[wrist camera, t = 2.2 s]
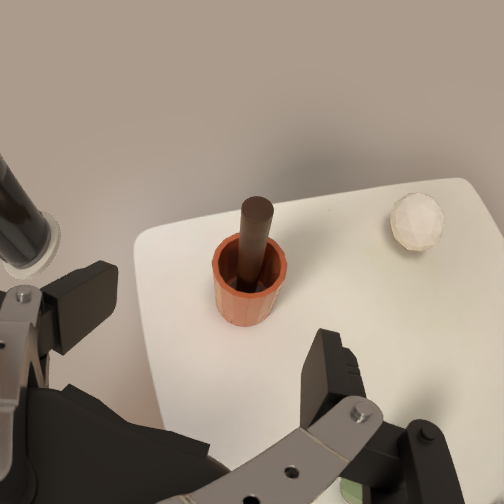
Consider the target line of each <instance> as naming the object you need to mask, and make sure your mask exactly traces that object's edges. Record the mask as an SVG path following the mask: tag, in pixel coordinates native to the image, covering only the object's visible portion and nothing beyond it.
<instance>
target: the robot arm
mask: <svg viewBox="0 0 504 504" xmlns="http://www.w3.org/2000/svg"><path fill="white" fill-rule="evenodd" d="M50 239H51V228H50V225H49V223H48V222H47V220H46V219H45V218H44V217H43V216H42V213H41V212H40V211H39V210H38V209H37V208H36V206H35V205H34V204H33V202H32V201H31V199H30V198H29V197H28V195H27V194H26V192H25V191H24V190H23V188H22V187H21V185H20V184H19V182H18V181H17V179H16V178H15V176H14V175H13V173H12V172H11V170H10V168H9V167H8V165H7V164H6V162H5V161H4V160H3V157H2V156H1V154H0V258H1V259H2V260H3V261H4V262H5V263H9V264H10V265H11V266H13V267H14V268H16V269H21V270H22V269H27V268H29V267H31V266H33V265H34V264H36V263H37V262H38V261H39V260H40V259H41V258H42V256H43V255H44V253H45V252H46V250H47V248H48V246H49V243H50ZM117 283H118V268H117V266H115V265H112V264H110V263H107V262H104V261H101V260H100V261H97V262H95V263H93V264H91V265H90V266H88V267H86V268H82V269H77V270H75V271H72V272H70V273H69V274H67V275H65V276H63V277H61V278H60V279H57V280H55V281H53V282H51V283H50V284H48V285H46V286H44V287H42V288H41V289H38V288H36V287H34V286H31V285H19V286H15V287H13V288H11V289H10V290H8V292H3V291H0V504H312V503H313V502H314V501H315V500H316V499H317V498H318V497H319V496H320V495H321V494H322V493H323V492H324V491H325V490H326V489H327V488H328V487H329V486H330V485H331V484H332V483H333V482H334V481H335V480H336V479H337V478H338V477H342V478H344V479H347V480H350V481H353V482H356V483H359V484H362V504H465V502H464V498H463V495H462V491H461V487H460V484H459V480H458V477H457V474H456V470H455V467H454V464H453V461H452V458H451V455H450V452H449V449H448V446H447V443H446V440H445V437H444V435H443V433H442V431H441V430H440V429H439V428H438V427H437V426H436V425H435V424H433V423H431V422H429V421H427V420H422V419H417V420H413V421H412V422H410V423H409V425H408V426H407V427H406V428H405V429H404V428H401V427H398V426H395V425H392V424H389V423H387V422H385V421H383V414H382V411H381V410H380V408H379V407H378V406H377V405H376V404H375V403H373V402H372V401H370V400H368V399H367V398H366V393H365V389H364V386H363V382H362V378H361V376H360V370H359V368H358V367H359V366H358V363H357V359H356V357H355V355H354V354H353V353H352V352H351V351H350V349H349V348H344V347H342V342H341V338H340V334H339V333H338V332H333V331H329V330H325V329H321V328H320V329H319V330H318V331H317V333H316V336H315V338H314V341H313V343H312V346H311V348H310V350H309V353H308V355H307V357H306V360H305V362H304V365H303V369H302V373H301V404H300V427H299V428H297V429H295V430H294V431H292V432H291V433H290V434H288V435H287V436H286V437H284V438H283V439H281V440H280V441H278V442H277V443H275V444H274V445H273V446H271V447H270V448H268V449H267V450H265V451H264V452H262V453H260V454H259V455H257V456H256V457H254V458H253V459H251V460H249V461H248V462H246V463H245V464H243V465H241V466H240V467H238V468H236V469H235V470H233V471H231V470H229V469H228V468H227V467H226V466H224V465H223V464H222V463H220V462H219V461H217V460H216V459H214V458H212V457H210V456H209V455H207V454H208V451H209V447H210V444H207V443H204V442H201V441H198V440H195V439H192V438H189V437H186V436H183V435H180V434H177V433H175V432H172V431H166V430H161V429H155V428H150V427H145V426H140V425H135V424H132V423H129V422H127V421H125V420H124V419H123V418H121V417H120V416H119V415H117V414H116V413H115V412H114V411H112V410H111V409H110V408H108V407H107V406H106V405H105V404H104V403H102V402H101V401H100V400H99V399H97V398H95V397H93V396H91V395H89V394H87V393H85V392H84V391H82V390H80V389H78V388H76V387H75V386H73V385H71V384H68V385H67V386H66V387H65V388H64V389H63V390H62V391H59V390H55V389H50V388H49V360H50V357H49V351H50V350H51V349H53V350H54V351H56V352H58V353H59V354H61V355H65V354H66V353H67V352H68V351H69V350H70V349H71V348H72V347H74V346H75V345H76V344H77V343H78V342H80V341H81V340H82V339H83V338H84V337H85V336H87V335H88V334H89V333H90V332H91V331H92V330H94V328H96V327H97V326H98V325H99V324H100V323H102V322H103V321H104V320H105V319H106V318H108V317H109V316H110V315H111V314H112V313H113V311H114V309H115V306H116V301H117Z"/></svg>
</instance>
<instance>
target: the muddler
mask: <svg viewBox="0 0 504 504" xmlns="http://www.w3.org/2000/svg"><path fill="white" fill-rule="evenodd" d="M273 213H274V208H273V205H272V204H271V202H270V201H269V200H267V199H266V198H263V197H259V196H254V197H250V198H248V199H246V200H245V201H244V203H243V204H242V208H241V223H240V237H239V252H238V268H237V280H235V281H233V282H232V283H231V285H230V287H232V288H233V289H235V290H236V291H240V292H244V293H249V294H250V293H257V292H262V291H263V289H262V287H261V285H260V284H259V283H258V280H259V275H260V271H261V267H262V262H263V258H264V253H265V249H266V244H267V240H268V235H269V231H270V226H271V222H272V217H273Z"/></svg>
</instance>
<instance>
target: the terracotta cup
mask: <svg viewBox="0 0 504 504" xmlns="http://www.w3.org/2000/svg"><path fill="white" fill-rule="evenodd" d="M239 237H240V233H236V234H234V235H232V236H230V237H228V238H226V239H225V240H224V241H223V242H222V243H221V244H220V245H219V246H218V247H217V249H216V250H215V253H214V257H213V260H212V268H213V277H214V286H215V295H216V302H217V307H218V310H219V312H220V313H221V315H222V316H223V317H224V318H225V319H226V320H227V321H228V322H230V323H232V324H234V325H237V326H244V327H247V326H253V325H256V324H258V323H260V322H261V321H263V320H264V319H265V318H266V317H267V316H268V314H269V313H270V311H271V310H272V307H273V305H274V303H275V300H276V298H277V296H278V293H279V291H280V289H281V286H282V284H283V282H284V279H285V276H286V270H287V262H286V258H285V255H284V252H283V251H282V249H281V248H280V247H279V245H278V244H277V243H276V242H275V241H274V240H272V239H270V238H269V237H268V240H267V244H266V249H265V253H264V258H263V262H262V267H261V271H260V275H259V280H258V283H259V284H260V285H261V287H262V289H263V291H262V292H257V293H250V294H249V293H244V292H240V291H236V290H235V289H233V288H232V287H230V285H231V283H232V282H233V281H235V280H237V268H238V252H239Z"/></svg>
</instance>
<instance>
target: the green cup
mask: <svg viewBox="0 0 504 504" xmlns="http://www.w3.org/2000/svg"><path fill="white" fill-rule="evenodd" d="M340 489H341V494H342V496H343V498H344V499H345V500H346V501H347V502H348V503H349V504H362V484H359V483H356V482H353V481H350V480H347V479H344V478H342V481H341V487H340Z"/></svg>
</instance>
